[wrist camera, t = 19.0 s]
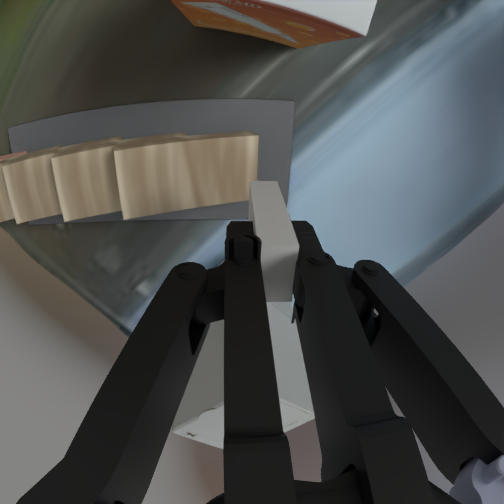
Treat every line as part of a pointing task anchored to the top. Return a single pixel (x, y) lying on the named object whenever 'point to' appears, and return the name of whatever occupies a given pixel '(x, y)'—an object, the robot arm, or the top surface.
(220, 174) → the domino
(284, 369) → the skincare box
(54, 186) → the domino
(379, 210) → the top surface
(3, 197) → the domino
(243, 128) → the mat
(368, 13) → the small box
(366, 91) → the top surface
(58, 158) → the domino
